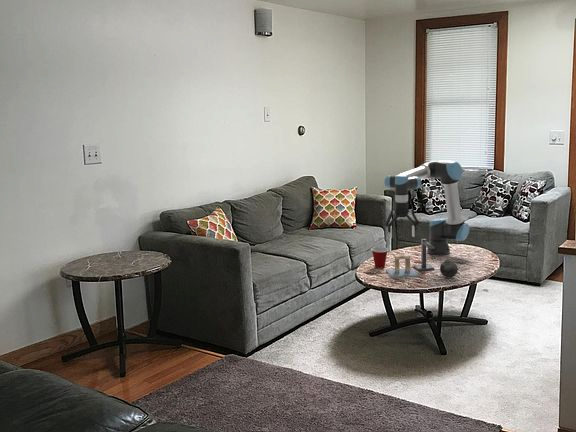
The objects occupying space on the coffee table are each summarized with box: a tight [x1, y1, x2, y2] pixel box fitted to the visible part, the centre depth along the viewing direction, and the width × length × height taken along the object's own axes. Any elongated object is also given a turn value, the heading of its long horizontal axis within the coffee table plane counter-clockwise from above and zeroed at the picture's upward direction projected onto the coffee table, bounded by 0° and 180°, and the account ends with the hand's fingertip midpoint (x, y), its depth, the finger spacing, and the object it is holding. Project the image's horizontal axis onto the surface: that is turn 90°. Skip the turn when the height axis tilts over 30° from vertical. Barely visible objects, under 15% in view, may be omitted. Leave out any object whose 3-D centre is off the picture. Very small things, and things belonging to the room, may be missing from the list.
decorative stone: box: [439, 260, 458, 278], centre depth 365 cm, size 10×10×10 cm
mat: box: [385, 267, 420, 279], centre depth 377 cm, size 16×16×1 cm
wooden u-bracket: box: [394, 253, 411, 274], centre depth 376 cm, size 8×5×10 cm, turn 95°
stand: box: [413, 238, 435, 272], centre depth 380 cm, size 10×22×18 cm, turn 5°
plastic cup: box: [371, 246, 389, 269], centre depth 394 cm, size 11×11×12 cm
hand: (402, 237), depth 373 cm, fingers open, 13 cm apart
